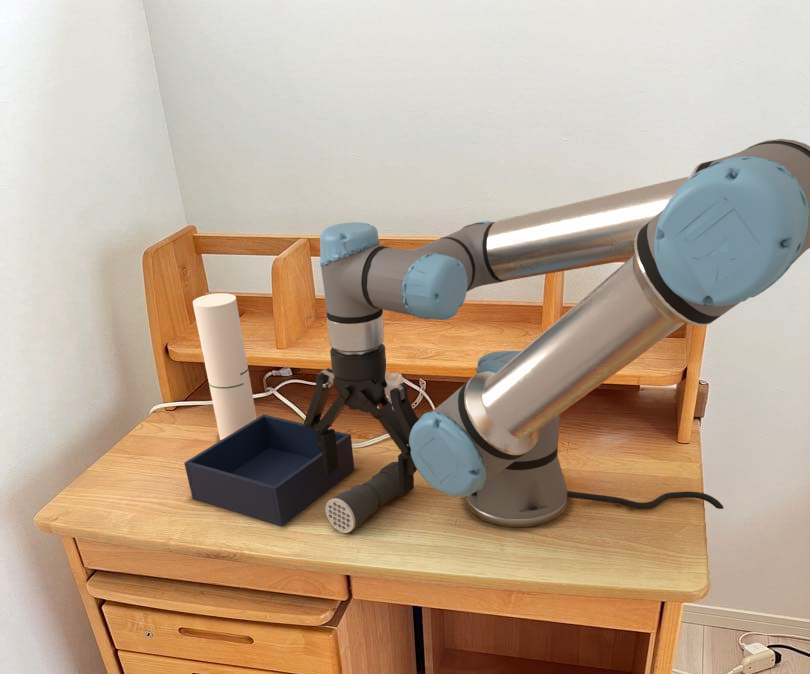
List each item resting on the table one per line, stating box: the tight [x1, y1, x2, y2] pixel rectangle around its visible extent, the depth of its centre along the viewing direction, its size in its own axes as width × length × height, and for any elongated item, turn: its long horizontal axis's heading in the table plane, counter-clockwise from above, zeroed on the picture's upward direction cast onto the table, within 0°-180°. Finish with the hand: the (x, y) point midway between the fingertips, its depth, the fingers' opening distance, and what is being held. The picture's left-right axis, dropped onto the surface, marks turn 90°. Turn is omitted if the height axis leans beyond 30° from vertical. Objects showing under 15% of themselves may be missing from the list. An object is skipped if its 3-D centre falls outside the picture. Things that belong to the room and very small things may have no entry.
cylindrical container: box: [192, 292, 258, 441], centre depth 143 cm, size 7×7×25 cm
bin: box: [183, 413, 355, 527], centre depth 132 cm, size 18×19×7 cm
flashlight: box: [324, 460, 402, 534], centre depth 124 cm, size 15×5×5 cm, turn 142°
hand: (368, 481), depth 123 cm, fingers open, 13 cm apart
